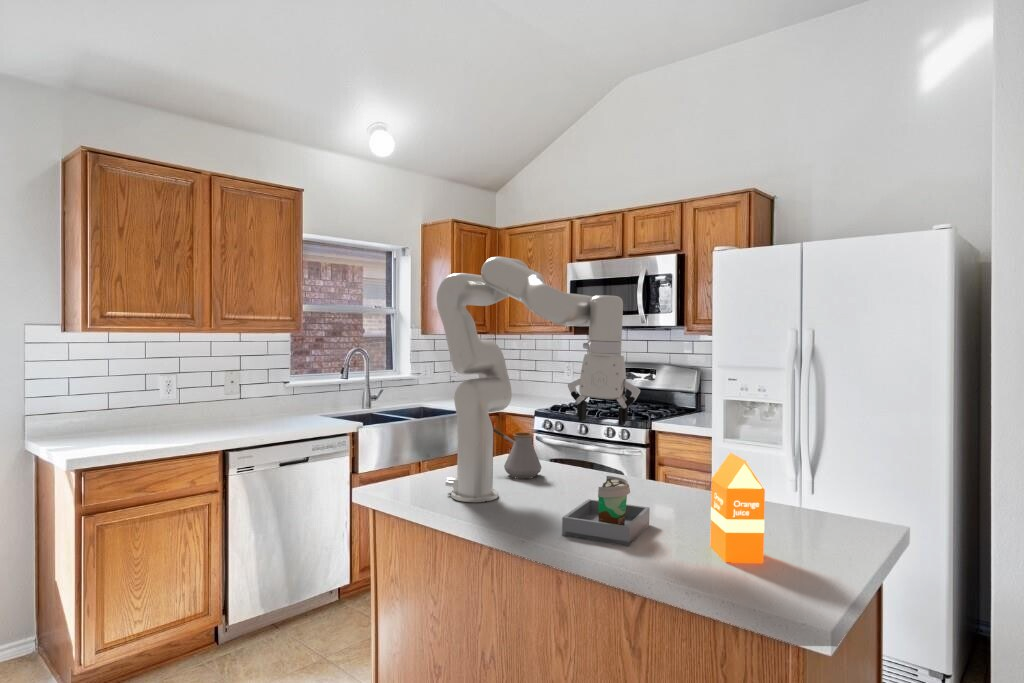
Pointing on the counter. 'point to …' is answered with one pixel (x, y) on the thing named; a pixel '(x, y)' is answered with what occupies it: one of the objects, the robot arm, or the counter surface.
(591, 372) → the robot arm
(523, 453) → the coffee pot
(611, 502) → the food container
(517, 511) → the counter surface
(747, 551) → the orange juice
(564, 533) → the grey bin
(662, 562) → the counter surface
